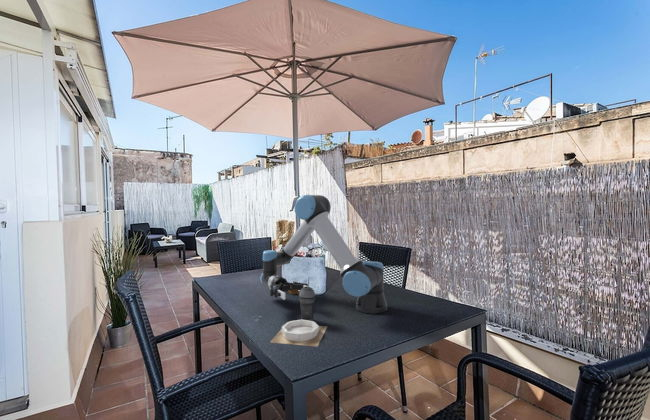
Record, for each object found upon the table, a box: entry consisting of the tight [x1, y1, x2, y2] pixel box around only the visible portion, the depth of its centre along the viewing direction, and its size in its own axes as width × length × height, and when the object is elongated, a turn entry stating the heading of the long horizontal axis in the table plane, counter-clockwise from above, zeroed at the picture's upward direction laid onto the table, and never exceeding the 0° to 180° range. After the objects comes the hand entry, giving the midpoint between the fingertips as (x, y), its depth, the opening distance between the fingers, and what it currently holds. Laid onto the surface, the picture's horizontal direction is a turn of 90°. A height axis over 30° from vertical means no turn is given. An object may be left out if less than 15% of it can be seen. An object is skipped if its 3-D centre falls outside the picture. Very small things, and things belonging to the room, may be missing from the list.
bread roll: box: [285, 287, 300, 295], centre depth 180 cm, size 10×10×8 cm
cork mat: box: [269, 325, 328, 348], centre depth 121 cm, size 18×18×1 cm
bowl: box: [281, 319, 320, 342], centre depth 121 cm, size 14×14×3 cm
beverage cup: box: [298, 276, 316, 321], centre depth 134 cm, size 7×7×20 cm
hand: (298, 293), depth 139 cm, fingers open, 13 cm apart
